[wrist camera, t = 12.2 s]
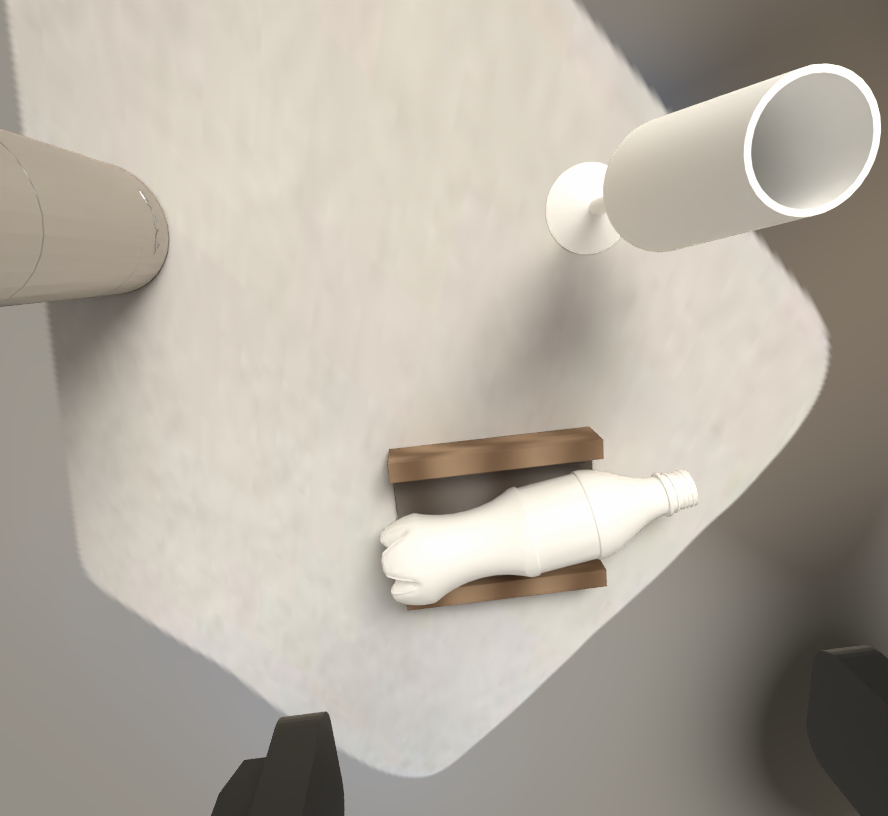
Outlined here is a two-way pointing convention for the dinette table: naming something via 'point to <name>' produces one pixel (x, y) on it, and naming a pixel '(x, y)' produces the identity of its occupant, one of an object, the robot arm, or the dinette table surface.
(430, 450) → the walnut cradle
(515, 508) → the water bottle
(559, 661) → the dinette table surface
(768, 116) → the champagne flute
